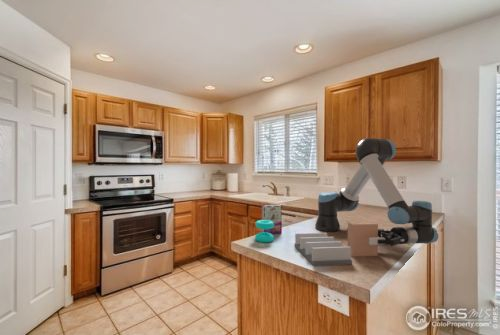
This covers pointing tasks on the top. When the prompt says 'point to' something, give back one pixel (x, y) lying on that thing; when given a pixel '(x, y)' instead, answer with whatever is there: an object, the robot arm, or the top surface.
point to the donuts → (264, 235)
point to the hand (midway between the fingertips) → (360, 236)
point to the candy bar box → (273, 217)
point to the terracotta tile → (362, 238)
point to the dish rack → (322, 249)
